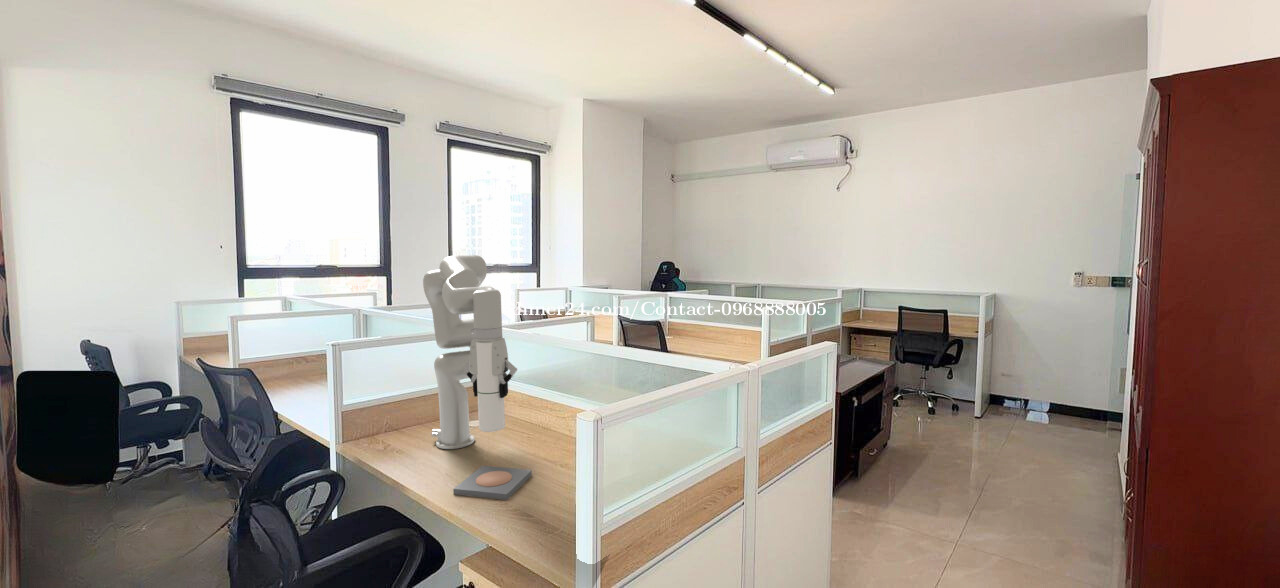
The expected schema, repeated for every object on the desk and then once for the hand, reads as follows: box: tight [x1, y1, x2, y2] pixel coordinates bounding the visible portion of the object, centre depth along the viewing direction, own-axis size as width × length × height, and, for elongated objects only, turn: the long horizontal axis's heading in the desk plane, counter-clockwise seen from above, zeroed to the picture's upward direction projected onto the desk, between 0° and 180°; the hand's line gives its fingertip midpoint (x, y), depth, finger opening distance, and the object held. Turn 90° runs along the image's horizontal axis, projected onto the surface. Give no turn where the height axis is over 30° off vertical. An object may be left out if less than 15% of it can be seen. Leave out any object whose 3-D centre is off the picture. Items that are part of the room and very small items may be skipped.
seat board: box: [452, 465, 533, 501], centre depth 157 cm, size 16×16×2 cm
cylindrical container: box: [476, 342, 506, 433], centre depth 154 cm, size 7×7×25 cm
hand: (490, 395), depth 155 cm, fingers closed on cylindrical container, 7 cm apart
